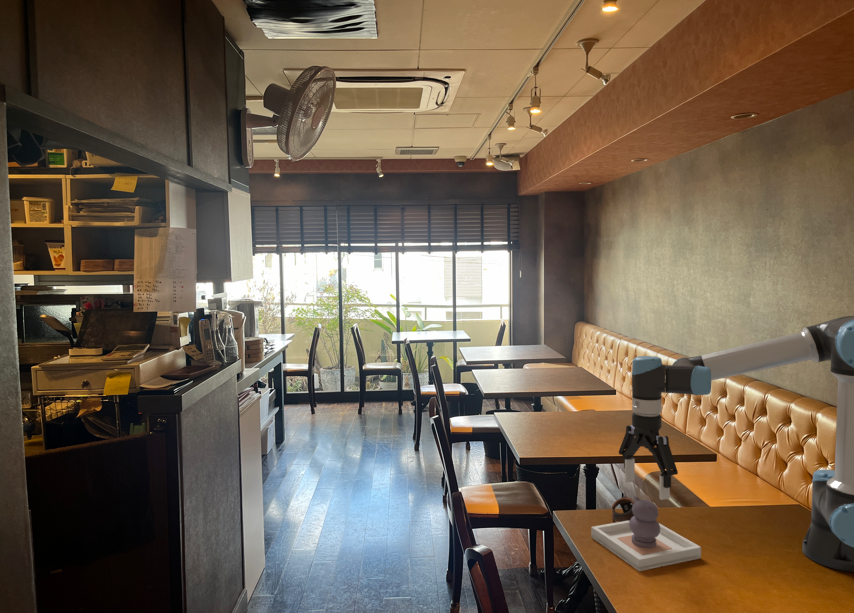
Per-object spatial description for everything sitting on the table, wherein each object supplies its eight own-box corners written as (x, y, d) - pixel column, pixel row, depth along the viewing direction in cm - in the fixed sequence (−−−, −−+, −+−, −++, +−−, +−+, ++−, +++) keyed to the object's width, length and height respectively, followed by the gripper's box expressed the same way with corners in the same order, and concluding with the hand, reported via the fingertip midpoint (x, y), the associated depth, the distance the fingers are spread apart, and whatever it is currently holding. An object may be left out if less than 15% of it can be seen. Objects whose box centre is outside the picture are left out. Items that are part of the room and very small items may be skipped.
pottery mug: (652, 530, 168) (642, 509, 166) (622, 542, 169) (611, 521, 167) (640, 504, 179) (630, 484, 177) (612, 515, 181) (602, 495, 179)
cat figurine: (666, 548, 153) (667, 505, 152) (640, 551, 151) (641, 507, 150) (647, 534, 161) (648, 493, 161) (622, 537, 159) (623, 495, 159)
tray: (700, 558, 150) (701, 547, 150) (639, 571, 144) (639, 559, 143) (647, 526, 169) (648, 517, 169) (591, 537, 162) (591, 526, 162)
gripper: (606, 405, 165) (606, 477, 166) (669, 425, 141) (669, 508, 142) (627, 403, 167) (627, 473, 168) (693, 422, 144) (692, 504, 145)
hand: (646, 490), depth 155 cm, fingers open, 13 cm apart
